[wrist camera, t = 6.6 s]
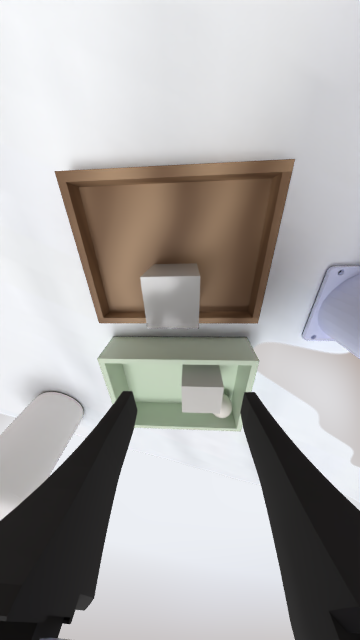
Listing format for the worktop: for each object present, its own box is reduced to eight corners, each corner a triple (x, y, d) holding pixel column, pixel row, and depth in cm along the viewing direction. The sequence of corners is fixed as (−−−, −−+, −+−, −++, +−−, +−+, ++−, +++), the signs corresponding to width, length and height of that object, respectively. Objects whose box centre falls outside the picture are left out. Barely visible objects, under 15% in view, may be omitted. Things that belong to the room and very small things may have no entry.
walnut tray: (279, 169, 12) (295, 158, 10) (251, 314, 18) (257, 323, 16) (72, 179, 13) (54, 171, 11) (107, 314, 19) (99, 323, 17)
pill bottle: (89, 399, 26) (-13, 569, 13) (81, 425, 30) (-4, 578, 17) (37, 383, 25) (-134, 553, 12) (35, 412, 29) (-97, 566, 15)
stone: (197, 263, 15) (200, 276, 11) (196, 303, 17) (198, 328, 13) (154, 264, 15) (140, 277, 11) (157, 303, 17) (147, 328, 13)
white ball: (230, 388, 23) (236, 409, 20) (228, 402, 24) (233, 423, 21) (208, 387, 23) (211, 408, 20) (207, 401, 24) (209, 422, 22)
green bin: (246, 337, 19) (259, 360, 16) (233, 403, 25) (240, 431, 21) (113, 336, 20) (97, 358, 17) (129, 400, 26) (120, 427, 22)
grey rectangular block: (216, 352, 20) (224, 387, 15) (213, 376, 22) (220, 413, 17) (183, 352, 20) (181, 386, 16) (183, 376, 22) (182, 412, 18)
